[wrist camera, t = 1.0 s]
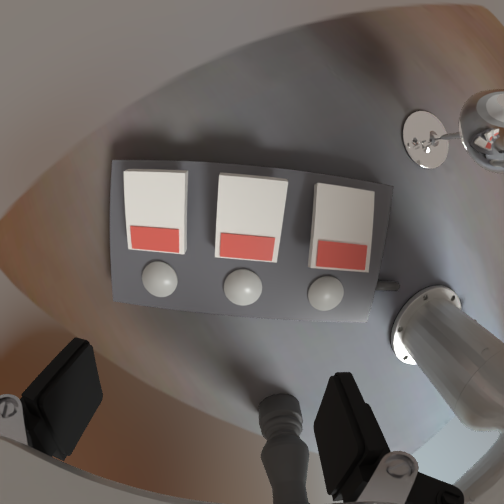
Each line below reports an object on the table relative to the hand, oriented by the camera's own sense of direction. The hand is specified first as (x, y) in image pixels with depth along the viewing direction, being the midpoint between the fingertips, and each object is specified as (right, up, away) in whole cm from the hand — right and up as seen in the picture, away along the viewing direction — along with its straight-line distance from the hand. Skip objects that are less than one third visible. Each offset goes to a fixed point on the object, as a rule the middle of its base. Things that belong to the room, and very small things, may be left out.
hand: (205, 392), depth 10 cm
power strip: (+3, +6, +23) cm, 24 cm away
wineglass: (+23, +19, +20) cm, 36 cm away
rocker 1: (-7, +9, +17) cm, 20 cm away
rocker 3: (+10, +7, +17) cm, 22 cm away
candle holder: (+6, -18, +29) cm, 35 cm away
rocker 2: (+1, +8, +17) cm, 19 cm away
